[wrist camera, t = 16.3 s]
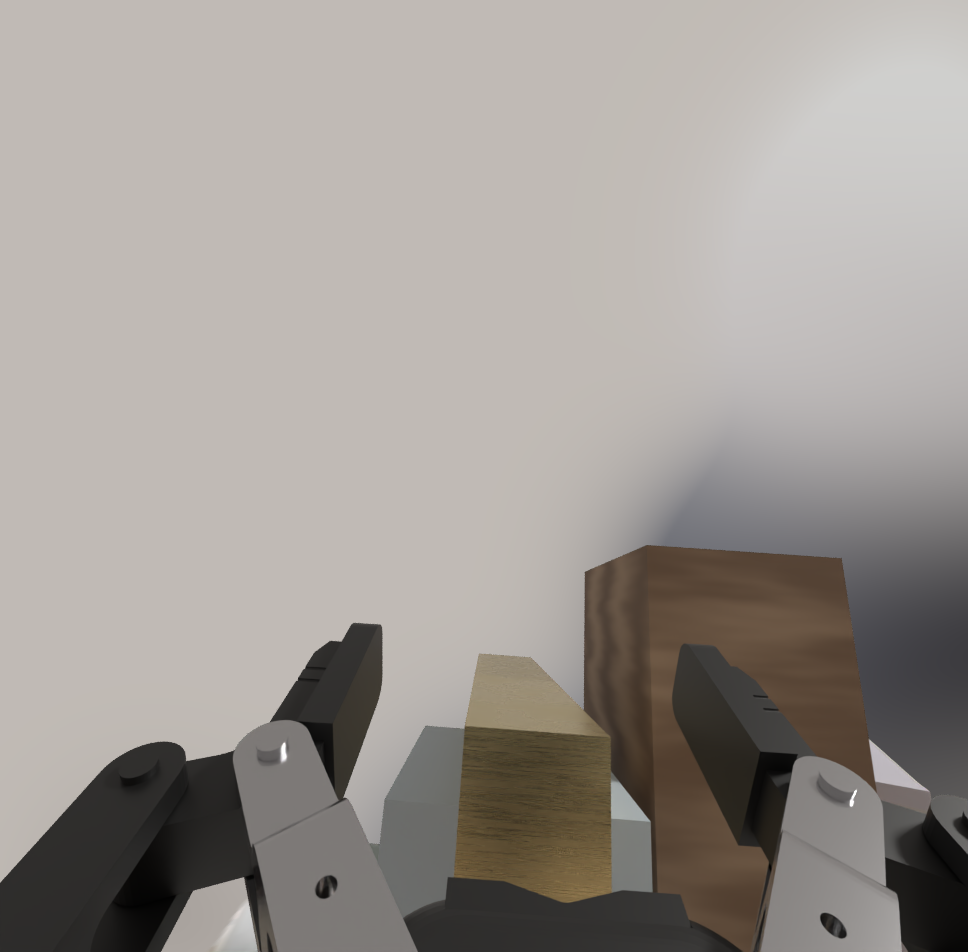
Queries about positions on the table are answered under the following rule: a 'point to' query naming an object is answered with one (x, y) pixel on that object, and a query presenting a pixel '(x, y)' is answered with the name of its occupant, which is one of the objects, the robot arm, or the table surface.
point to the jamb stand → (744, 644)
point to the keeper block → (434, 819)
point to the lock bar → (533, 786)
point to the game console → (897, 786)
